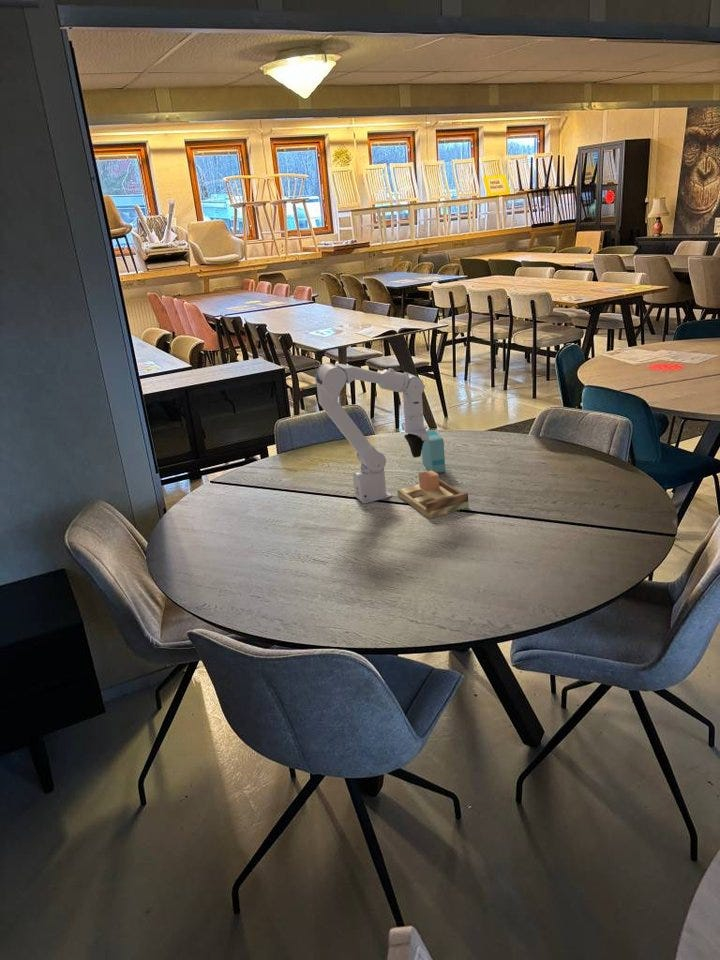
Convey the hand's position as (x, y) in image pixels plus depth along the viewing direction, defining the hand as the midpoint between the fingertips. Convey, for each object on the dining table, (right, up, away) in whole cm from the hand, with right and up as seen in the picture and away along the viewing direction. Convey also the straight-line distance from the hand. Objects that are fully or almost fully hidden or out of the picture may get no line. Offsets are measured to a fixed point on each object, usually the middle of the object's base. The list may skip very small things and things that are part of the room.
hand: (416, 456), depth 209 cm
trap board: (+4, -14, -8) cm, 17 cm away
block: (+4, -10, -4) cm, 11 cm away
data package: (+7, -4, +17) cm, 19 cm away
